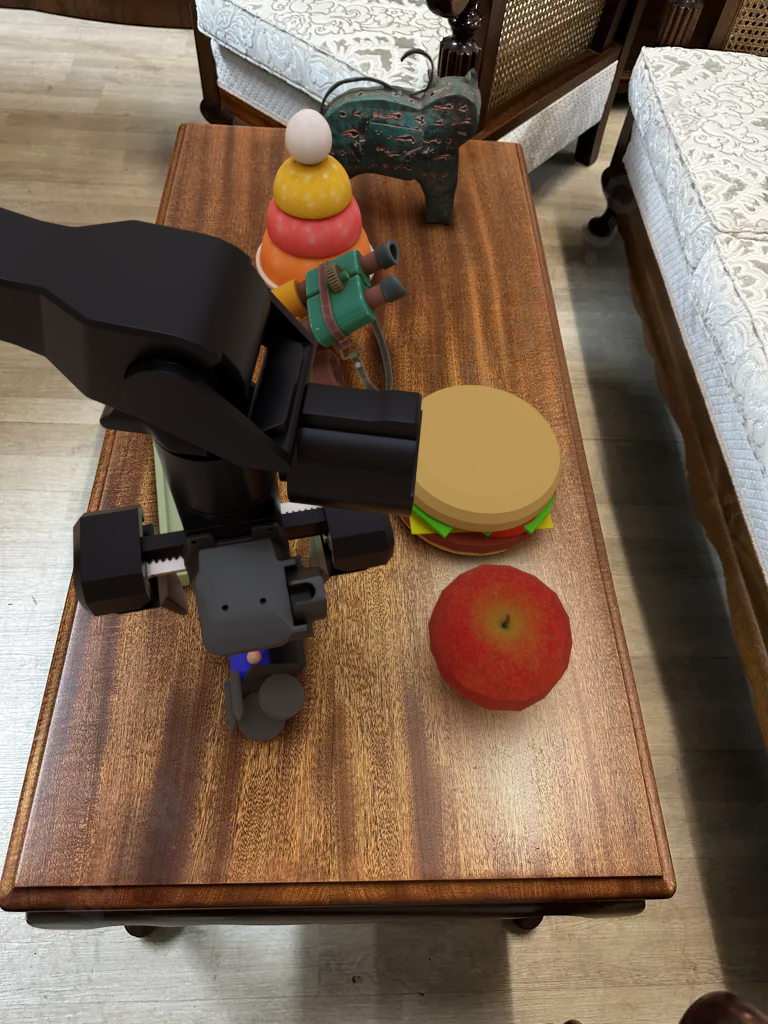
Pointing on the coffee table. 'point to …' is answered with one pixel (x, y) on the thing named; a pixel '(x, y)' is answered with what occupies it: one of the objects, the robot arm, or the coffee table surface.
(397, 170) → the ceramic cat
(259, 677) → the character figurine
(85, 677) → the coffee table surface
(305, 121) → the stacking toy
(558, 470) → the hamburger
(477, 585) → the apple
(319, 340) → the binoculars
